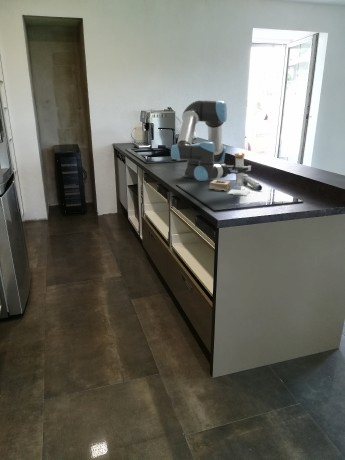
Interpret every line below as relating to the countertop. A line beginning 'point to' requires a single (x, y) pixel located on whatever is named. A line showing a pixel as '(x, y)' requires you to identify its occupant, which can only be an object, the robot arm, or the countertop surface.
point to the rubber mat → (238, 192)
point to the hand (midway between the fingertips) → (246, 167)
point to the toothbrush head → (252, 183)
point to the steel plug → (239, 164)
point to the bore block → (220, 185)
